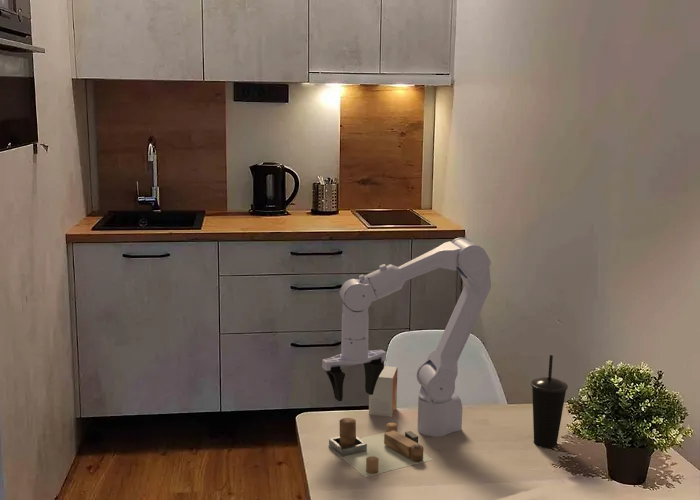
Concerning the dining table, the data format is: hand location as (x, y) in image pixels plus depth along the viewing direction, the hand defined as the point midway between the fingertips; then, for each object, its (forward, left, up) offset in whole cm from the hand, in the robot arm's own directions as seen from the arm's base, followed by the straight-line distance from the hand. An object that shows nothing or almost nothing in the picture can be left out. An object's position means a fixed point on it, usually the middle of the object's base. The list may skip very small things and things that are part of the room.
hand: (354, 396), depth 172 cm
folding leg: (-5, +13, -8) cm, 16 cm away
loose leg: (+4, +6, -9) cm, 11 cm away
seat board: (0, +10, -10) cm, 14 cm away
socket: (+5, +6, -9) cm, 11 cm away
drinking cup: (-36, +21, -10) cm, 43 cm away
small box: (-13, -9, -10) cm, 19 cm away
